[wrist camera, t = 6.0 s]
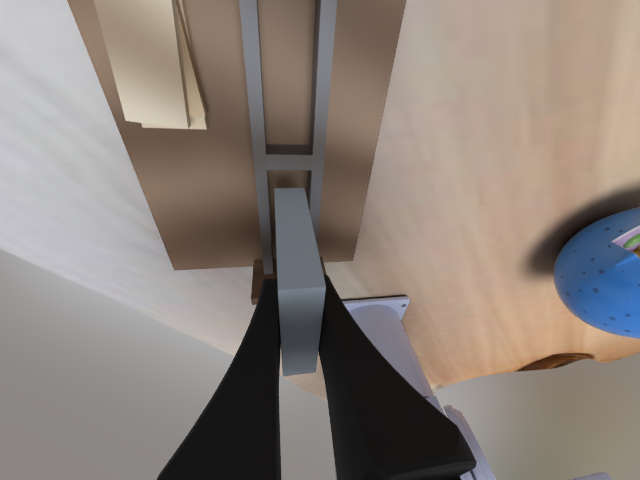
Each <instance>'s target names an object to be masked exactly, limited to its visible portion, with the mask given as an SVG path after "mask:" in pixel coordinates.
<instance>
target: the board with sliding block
mask: <svg viewBox="0 0 640 480" xmlns="http://www.w3.org/2000/svg"><path fill="white" fill-rule="evenodd" d="M67 1H68V3H69V6H70V8H71V11H72V13H73V16H74V18H75V21H76V23H77V26H78V28H79V31H80V34H81V36H82V39H83V41H84V44H85V46H86V49H87V51H88V54H89V56H90V59H91V61H92V64H93V66H94V69H95V71H96V74H97V76H98V79H99V81H100V84H101V86H102V89H103V92H104V94H105V97H106V99H107V102H108V104H109V107H110V109H111V112H112V114H113V117H114V119H115V122H116V124H117V127H118V129H119V132H120V134H121V137H122V139H123V142H124V145H125V147H126V150H127V152H128V155H129V157H130V160H131V162H132V165H133V167H134V170H135V172H136V175H137V177H138V180H139V182H140V185H141V187H142V190H143V192H144V195H145V197H146V200H147V203H148V205H149V208H150V210H151V213H152V215H153V218H154V220H155V223H156V225H157V228H158V230H159V233H160V235H161V238H162V240H163V243H164V245H165V248H166V250H167V253H168V255H169V258H170V261H171V263H172V266H173V268H174V270H189V269H208V268H227V267H245V266H254V267H253V281H252V295H251V300H252V305H255V304H257V303H258V299H259V296H260V292H261V288H262V282H263V280H264V279H273V278H277V251H276V221H275V191H274V188H305V193H306V198H307V202H308V207H309V211H310V216H311V220H312V225H313V230H314V234H315V239H316V243H317V248H318V252H319V257H320V262H321V266H322V271H323V275H326V271H325V267H324V263H323V262H339V261H353V258H354V253H355V248H356V243H357V238H358V233H359V228H360V224H361V219H362V214H363V209H364V204H365V199H366V194H367V189H368V184H369V180H370V175H371V170H372V165H373V160H374V155H375V150H376V145H377V141H378V136H379V131H380V126H381V121H382V116H383V111H384V106H385V101H386V97H387V92H388V87H389V82H390V77H391V72H392V67H393V62H394V58H395V53H396V48H397V43H398V38H399V33H400V28H401V23H402V18H403V14H404V9H405V4H406V0H185V4H186V9H187V14H188V20H189V25H190V30H191V36H192V41H193V46H194V52H195V57H196V62H197V68H198V73H199V78H200V84H201V89H202V94H203V98H204V102H205V106H206V110H207V115H206V116H207V121H208V126H209V127H208V128H207V130H206V129H171V128H143V127H142V124H141V123H138V122H130V121H126V120H125V116H124V113H123V109H122V105H121V101H120V98H119V94H118V90H117V86H116V82H115V79H114V75H113V71H112V67H111V64H110V60H109V56H108V52H107V48H106V45H105V41H104V37H103V33H102V30H101V26H100V22H99V18H98V14H97V11H96V7H95V3H94V0H67Z"/></svg>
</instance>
